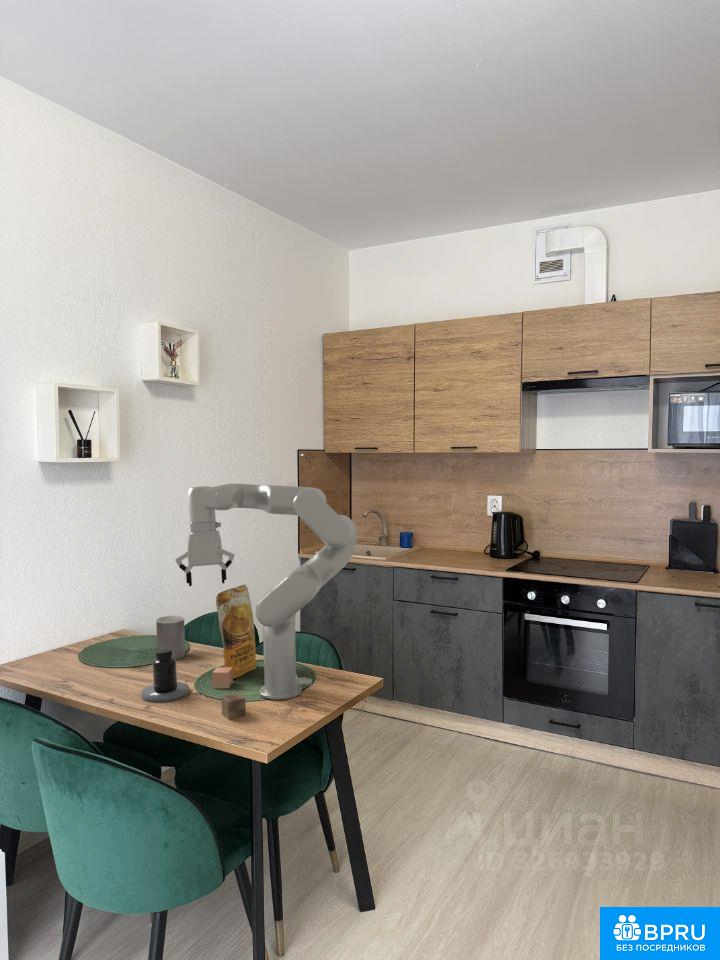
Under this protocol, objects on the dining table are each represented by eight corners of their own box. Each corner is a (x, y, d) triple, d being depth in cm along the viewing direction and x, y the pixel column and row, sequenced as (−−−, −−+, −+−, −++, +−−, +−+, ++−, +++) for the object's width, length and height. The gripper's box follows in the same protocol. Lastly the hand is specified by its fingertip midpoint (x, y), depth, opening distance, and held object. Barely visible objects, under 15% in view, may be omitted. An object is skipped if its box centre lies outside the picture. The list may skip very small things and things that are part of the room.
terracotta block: (232, 683, 214) (232, 667, 214) (228, 688, 209) (228, 672, 209) (217, 683, 214) (216, 667, 214) (212, 688, 209) (212, 672, 209)
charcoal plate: (190, 683, 214) (190, 680, 214) (188, 699, 200) (188, 695, 200) (143, 687, 211) (143, 683, 211) (138, 704, 197) (138, 700, 197)
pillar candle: (153, 656, 244) (151, 615, 243) (179, 651, 249) (178, 610, 249) (163, 663, 236) (161, 620, 235) (189, 657, 242) (188, 615, 241)
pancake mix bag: (211, 680, 217) (208, 593, 216) (248, 663, 233) (246, 582, 232) (227, 683, 214) (225, 594, 212) (264, 665, 230) (262, 583, 229)
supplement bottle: (168, 684, 210) (167, 645, 210) (181, 688, 206) (180, 649, 205) (149, 690, 205) (147, 651, 204) (162, 695, 201) (160, 655, 200)
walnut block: (239, 710, 191) (238, 692, 191) (245, 716, 187) (245, 698, 187) (222, 714, 189) (221, 696, 188) (228, 720, 184) (227, 702, 184)
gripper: (232, 524, 209) (235, 579, 210) (174, 528, 206) (178, 584, 207) (232, 526, 202) (236, 583, 203) (172, 531, 199) (176, 589, 199)
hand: (206, 584), depth 205 cm, fingers open, 9 cm apart
